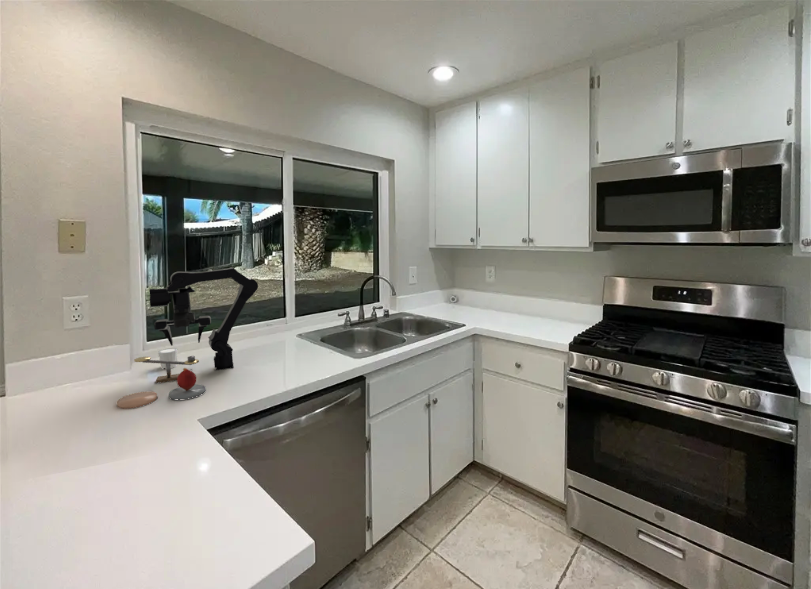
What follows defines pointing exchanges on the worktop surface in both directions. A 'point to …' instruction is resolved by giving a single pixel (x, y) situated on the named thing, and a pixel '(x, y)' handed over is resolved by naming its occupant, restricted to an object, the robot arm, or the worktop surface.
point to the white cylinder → (168, 356)
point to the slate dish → (187, 392)
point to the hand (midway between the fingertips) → (185, 344)
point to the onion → (186, 379)
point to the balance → (167, 367)
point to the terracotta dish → (136, 399)
